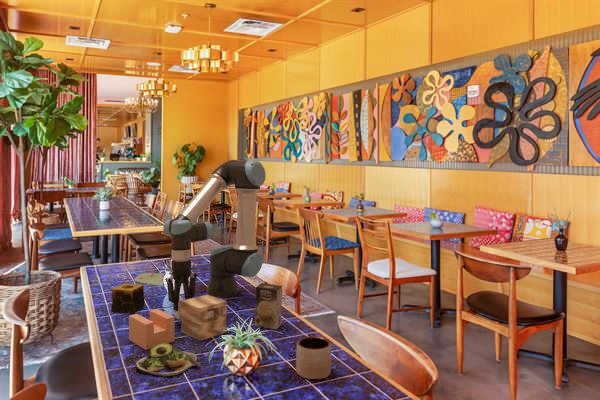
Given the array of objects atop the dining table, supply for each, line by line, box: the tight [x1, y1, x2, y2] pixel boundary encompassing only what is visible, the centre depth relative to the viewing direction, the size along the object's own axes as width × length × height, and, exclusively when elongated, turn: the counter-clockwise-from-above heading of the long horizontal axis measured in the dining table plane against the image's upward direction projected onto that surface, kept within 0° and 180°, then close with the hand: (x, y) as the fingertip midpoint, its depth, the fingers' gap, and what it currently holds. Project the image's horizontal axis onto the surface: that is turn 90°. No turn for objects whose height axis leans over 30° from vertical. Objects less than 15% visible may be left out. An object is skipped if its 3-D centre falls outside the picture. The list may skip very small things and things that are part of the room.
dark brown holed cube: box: [111, 283, 146, 315], centre depth 198 cm, size 10×10×10 cm
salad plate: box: [135, 343, 201, 377], centre depth 147 cm, size 19×18×5 cm
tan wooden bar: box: [179, 297, 214, 320], centre depth 179 cm, size 3×22×3 cm, turn 47°
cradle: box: [128, 308, 176, 351], centre depth 165 cm, size 11×12×9 cm
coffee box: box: [254, 282, 283, 330], centre depth 181 cm, size 9×6×16 cm
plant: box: [134, 262, 165, 286], centre depth 247 cm, size 25×21×9 cm
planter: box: [295, 335, 332, 380], centre depth 143 cm, size 11×11×10 cm
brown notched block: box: [180, 293, 227, 342], centre depth 174 cm, size 12×12×12 cm
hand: (181, 317), depth 185 cm, fingers closed on tan wooden bar, 3 cm apart
